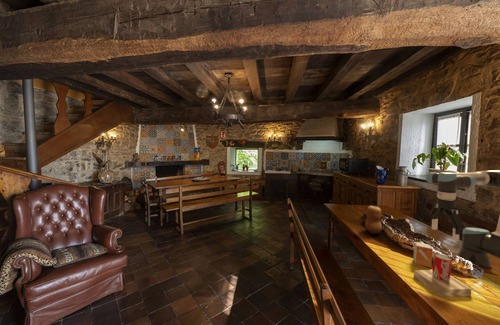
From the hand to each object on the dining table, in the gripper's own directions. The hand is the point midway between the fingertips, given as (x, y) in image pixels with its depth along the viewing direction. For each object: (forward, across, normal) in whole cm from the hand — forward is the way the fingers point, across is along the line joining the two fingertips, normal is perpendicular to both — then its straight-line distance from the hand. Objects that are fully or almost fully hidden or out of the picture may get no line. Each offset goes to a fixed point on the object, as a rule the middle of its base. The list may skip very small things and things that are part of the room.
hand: (444, 234), depth 112 cm
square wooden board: (+27, +8, -7) cm, 29 cm away
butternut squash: (+27, -62, -8) cm, 69 cm away
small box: (+27, -14, -1) cm, 31 cm away
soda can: (+23, +8, -7) cm, 25 cm away
